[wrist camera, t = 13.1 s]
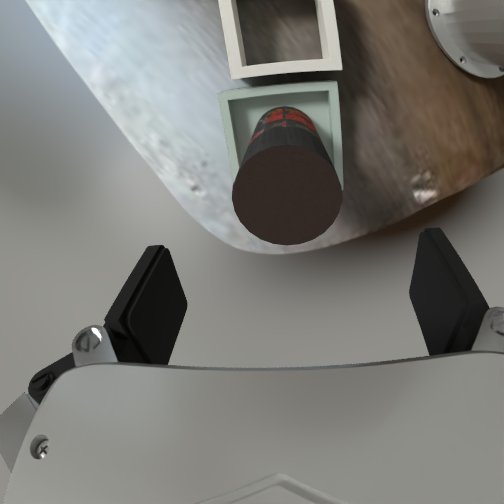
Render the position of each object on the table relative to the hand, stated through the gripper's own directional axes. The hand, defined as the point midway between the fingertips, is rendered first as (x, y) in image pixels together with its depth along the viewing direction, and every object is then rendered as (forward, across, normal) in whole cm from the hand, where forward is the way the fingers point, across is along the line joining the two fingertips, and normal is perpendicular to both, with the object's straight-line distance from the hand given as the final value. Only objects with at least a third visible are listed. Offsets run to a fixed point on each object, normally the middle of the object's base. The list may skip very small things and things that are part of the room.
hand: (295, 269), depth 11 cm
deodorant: (+22, +1, 0) cm, 22 cm away
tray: (+22, +1, 0) cm, 22 cm away
